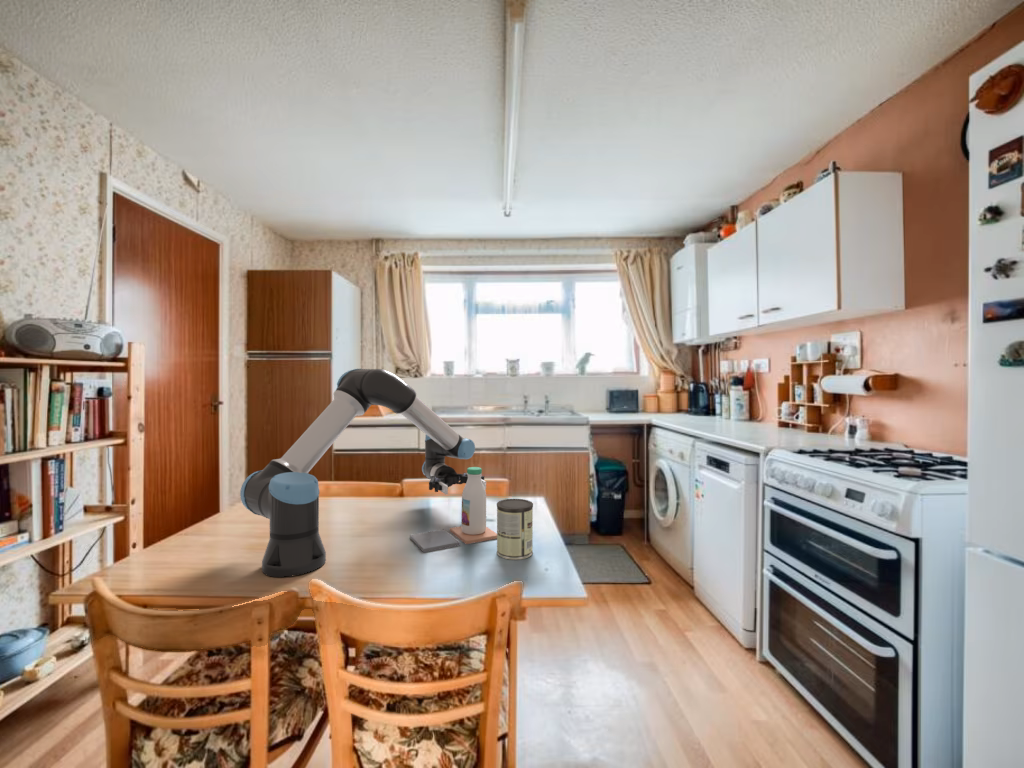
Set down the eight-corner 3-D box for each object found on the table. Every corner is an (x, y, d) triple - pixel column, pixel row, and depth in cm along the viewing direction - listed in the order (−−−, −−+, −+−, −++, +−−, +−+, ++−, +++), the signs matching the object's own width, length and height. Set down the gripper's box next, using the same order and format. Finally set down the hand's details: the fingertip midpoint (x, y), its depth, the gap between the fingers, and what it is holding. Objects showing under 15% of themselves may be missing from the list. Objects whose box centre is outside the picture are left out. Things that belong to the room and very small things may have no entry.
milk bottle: (486, 527, 148) (487, 465, 148) (485, 535, 141) (486, 470, 140) (462, 527, 148) (463, 465, 148) (460, 535, 141) (461, 470, 140)
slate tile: (423, 552, 130) (423, 548, 130) (410, 537, 141) (410, 534, 141) (459, 545, 135) (459, 542, 135) (443, 532, 146) (443, 529, 146)
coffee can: (498, 545, 135) (499, 497, 135) (533, 546, 134) (534, 499, 134) (494, 559, 125) (494, 507, 125) (531, 561, 124) (532, 509, 124)
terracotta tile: (465, 544, 136) (465, 540, 136) (449, 531, 147) (449, 528, 147) (498, 538, 141) (498, 534, 141) (480, 525, 153) (480, 522, 153)
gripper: (474, 481, 175) (500, 494, 157) (410, 489, 163) (429, 504, 145) (474, 462, 175) (500, 472, 157) (410, 468, 163) (429, 480, 145)
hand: (466, 487), depth 151 cm, fingers open, 13 cm apart
